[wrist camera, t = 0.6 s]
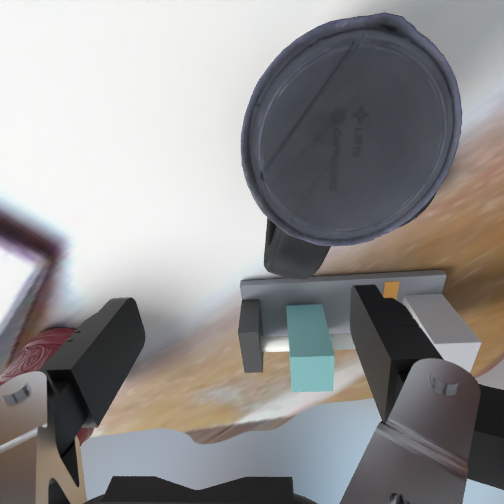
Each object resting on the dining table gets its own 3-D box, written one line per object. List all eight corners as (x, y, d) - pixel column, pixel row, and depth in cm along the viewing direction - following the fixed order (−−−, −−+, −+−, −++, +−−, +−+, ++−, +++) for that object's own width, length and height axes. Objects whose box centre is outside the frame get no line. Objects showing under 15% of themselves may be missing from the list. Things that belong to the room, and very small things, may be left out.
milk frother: (250, 56, 23) (227, 26, 11) (460, 37, 22) (723, -24, 9) (260, 222, 30) (254, 324, 18) (420, 214, 29) (539, 319, 16)
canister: (96, 318, 38) (-19, 475, 23) (138, 382, 44) (69, 540, 29) (11, 332, 40) (-145, 484, 25) (63, 391, 47) (-38, 543, 31)
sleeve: (286, 305, 33) (290, 357, 27) (322, 304, 33) (334, 355, 27) (288, 337, 36) (292, 391, 30) (321, 336, 35) (332, 391, 29)
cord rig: (240, 280, 34) (233, 331, 27) (442, 269, 32) (489, 321, 25) (249, 342, 39) (245, 399, 32) (425, 336, 37) (461, 395, 30)
